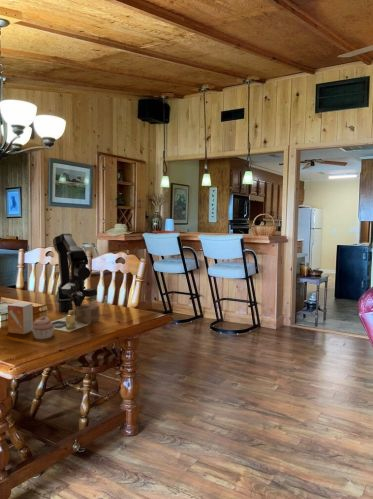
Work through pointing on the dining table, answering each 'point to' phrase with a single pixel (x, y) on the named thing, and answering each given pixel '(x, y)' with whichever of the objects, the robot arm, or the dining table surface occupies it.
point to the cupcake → (43, 328)
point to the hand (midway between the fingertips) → (77, 309)
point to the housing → (87, 313)
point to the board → (61, 323)
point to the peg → (70, 321)
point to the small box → (20, 317)
